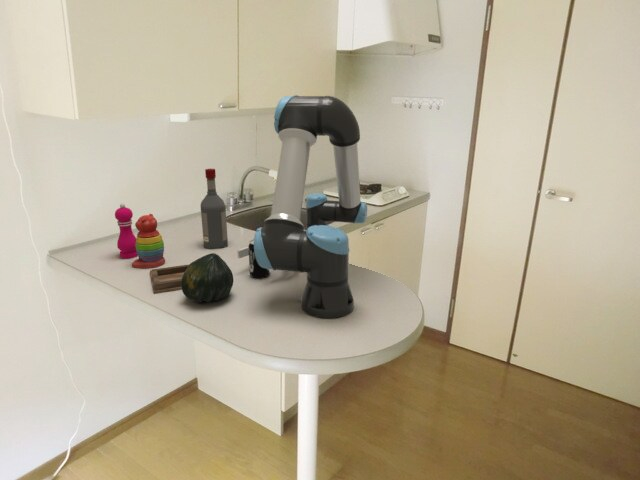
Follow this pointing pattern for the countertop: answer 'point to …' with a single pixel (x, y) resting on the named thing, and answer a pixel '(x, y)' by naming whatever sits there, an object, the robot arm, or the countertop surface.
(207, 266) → the squash
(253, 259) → the beverage can
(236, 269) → the countertop surface
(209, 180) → the liquor
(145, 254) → the stacking bear
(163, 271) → the brown wooden flat tray
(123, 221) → the pepper mill
